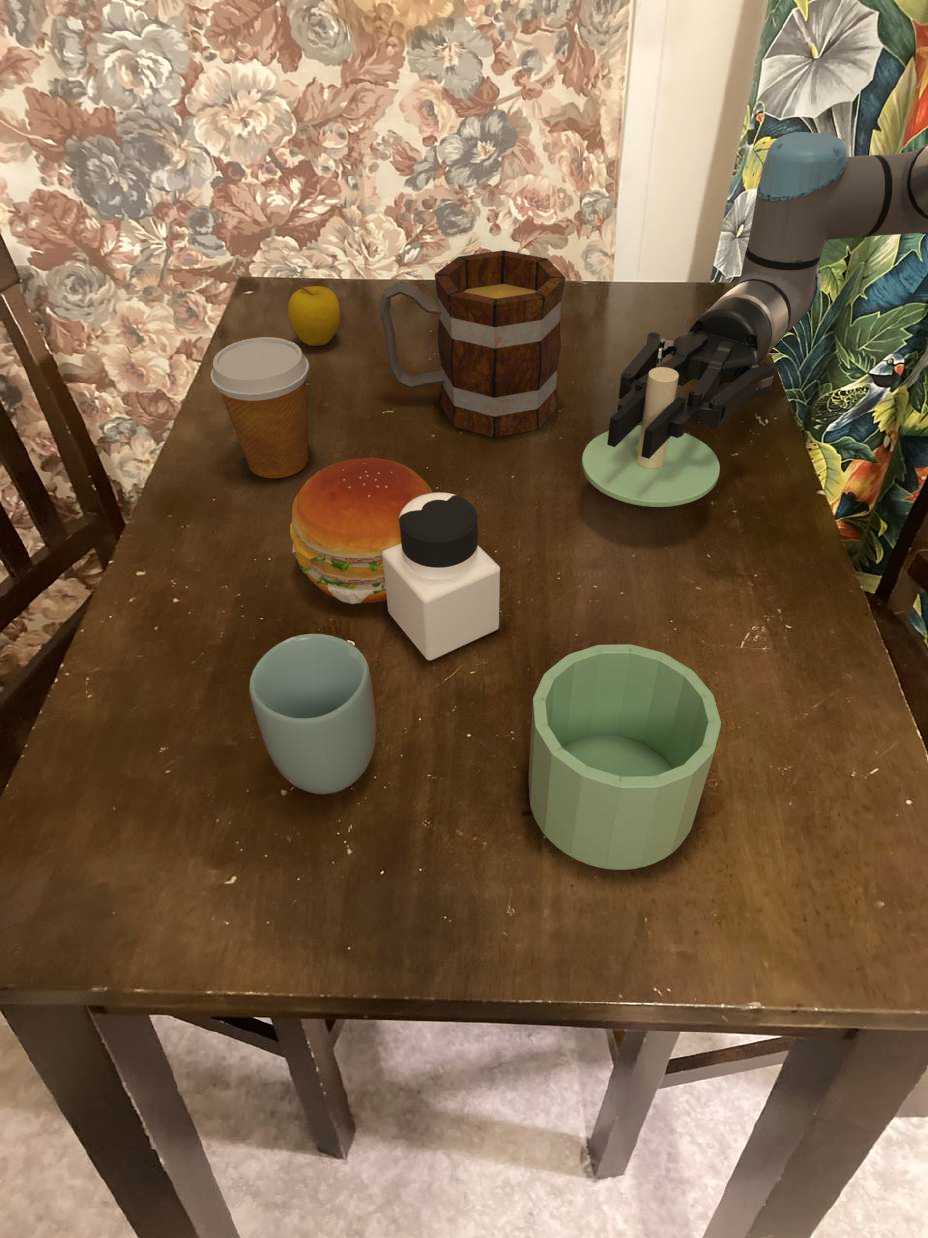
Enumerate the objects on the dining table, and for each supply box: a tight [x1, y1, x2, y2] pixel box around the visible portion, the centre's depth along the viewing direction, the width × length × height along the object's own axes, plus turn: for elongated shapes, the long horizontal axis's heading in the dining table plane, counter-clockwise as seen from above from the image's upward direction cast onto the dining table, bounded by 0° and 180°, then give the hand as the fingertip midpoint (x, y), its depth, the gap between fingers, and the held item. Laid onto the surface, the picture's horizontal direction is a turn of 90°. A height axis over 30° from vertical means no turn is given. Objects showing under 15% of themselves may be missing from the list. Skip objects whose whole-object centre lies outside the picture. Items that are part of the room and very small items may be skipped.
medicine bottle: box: [382, 492, 501, 661], centre depth 70 cm, size 7×7×12 cm
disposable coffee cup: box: [210, 336, 310, 479], centre depth 88 cm, size 10×10×12 cm
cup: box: [248, 633, 377, 795], centre depth 60 cm, size 8×8×10 cm
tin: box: [527, 643, 722, 871], centre depth 58 cm, size 12×12×10 cm
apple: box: [287, 285, 341, 347], centre depth 108 cm, size 6×6×8 cm
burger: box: [289, 457, 433, 605], centre depth 76 cm, size 13×14×10 cm
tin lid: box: [581, 366, 721, 508], centre depth 79 cm, size 13×13×10 cm
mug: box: [379, 249, 566, 438], centre depth 94 cm, size 20×14×15 cm
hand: (629, 438), depth 75 cm, fingers closed on tin lid, 3 cm apart
